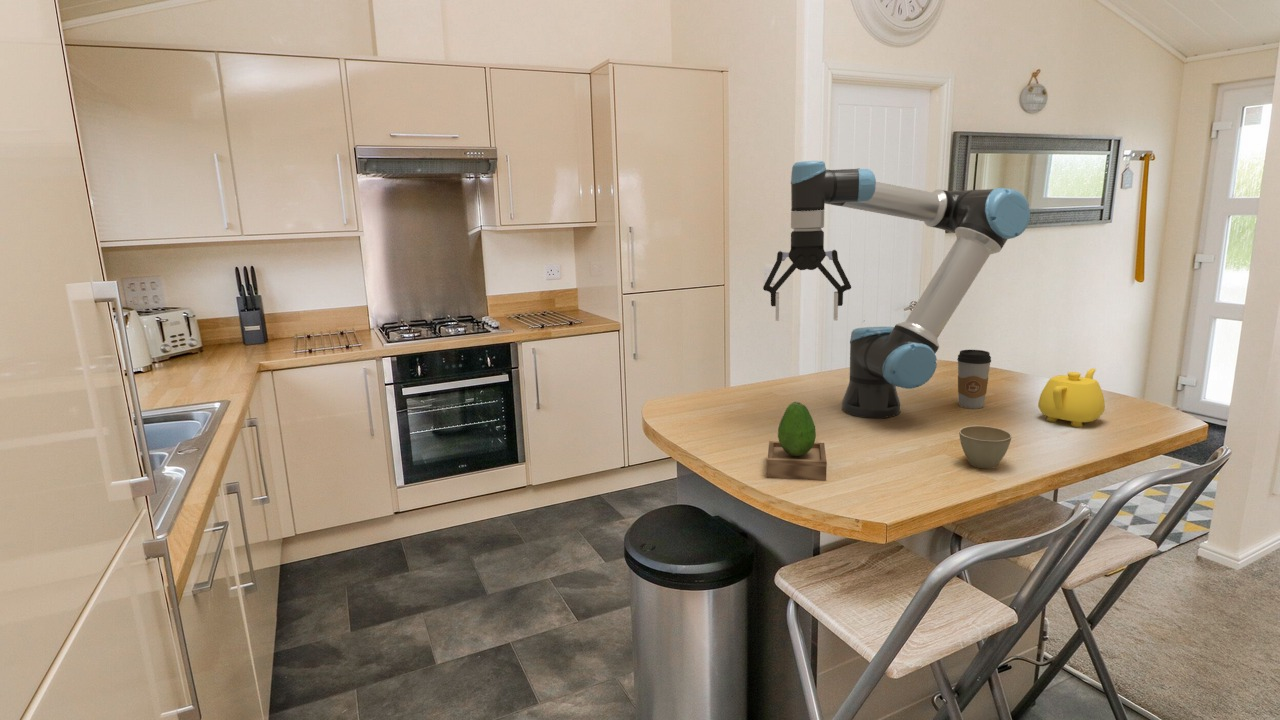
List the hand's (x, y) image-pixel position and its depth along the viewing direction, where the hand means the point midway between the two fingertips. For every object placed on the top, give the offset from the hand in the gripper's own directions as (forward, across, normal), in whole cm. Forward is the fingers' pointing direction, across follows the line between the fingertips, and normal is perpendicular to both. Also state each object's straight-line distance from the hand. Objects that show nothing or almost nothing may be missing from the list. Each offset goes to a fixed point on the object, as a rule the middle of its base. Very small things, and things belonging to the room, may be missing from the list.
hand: (806, 319), depth 167 cm
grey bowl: (+29, -37, +17) cm, 50 cm away
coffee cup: (+29, -45, -29) cm, 61 cm away
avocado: (+26, +2, +24) cm, 35 cm away
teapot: (+29, -66, -18) cm, 74 cm away
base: (+29, +2, +24) cm, 37 cm away
